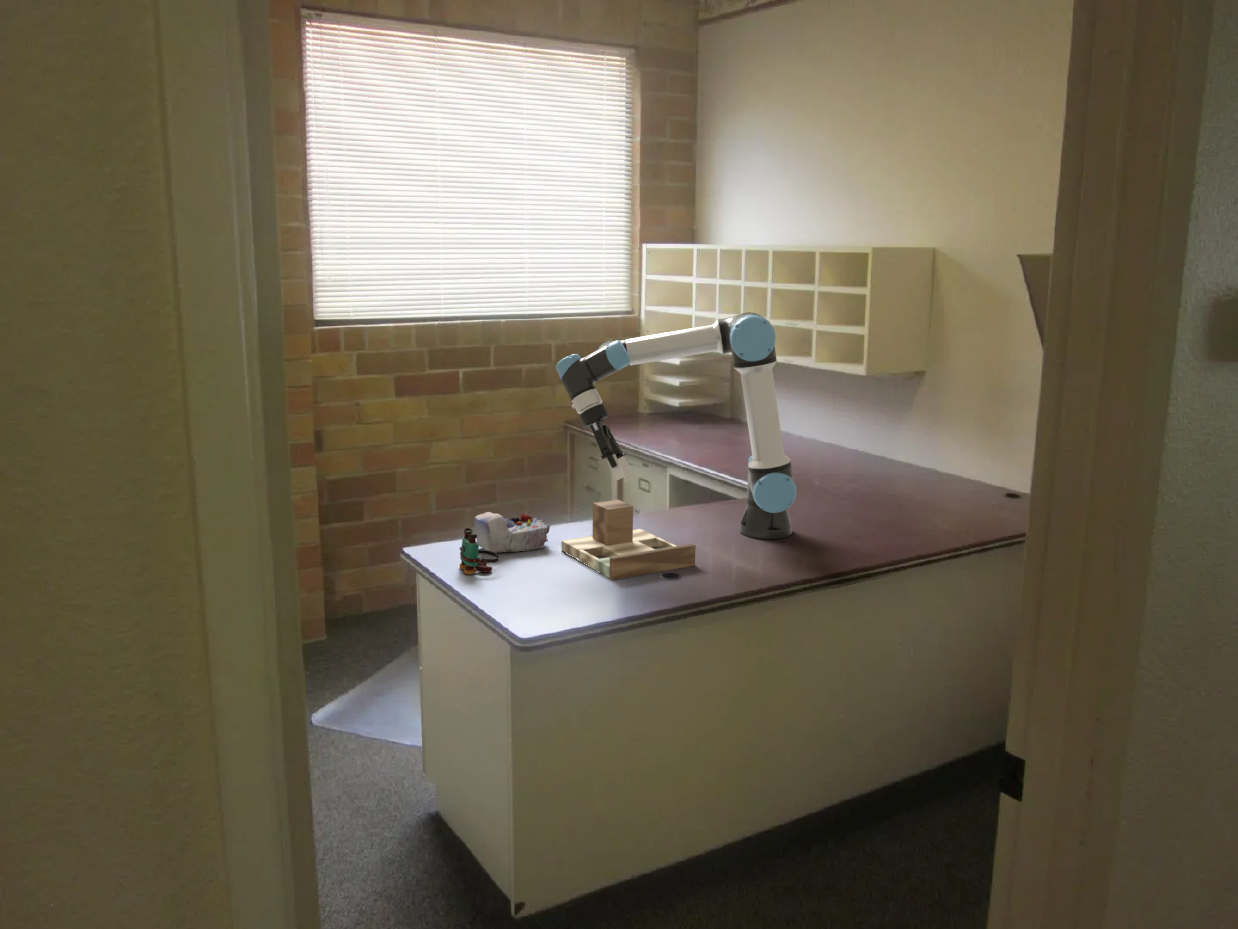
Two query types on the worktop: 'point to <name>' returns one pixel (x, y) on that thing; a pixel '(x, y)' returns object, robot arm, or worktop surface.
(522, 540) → the cell model
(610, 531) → the walnut block
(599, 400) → the robot arm
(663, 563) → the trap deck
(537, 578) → the worktop surface
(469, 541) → the binoculars
